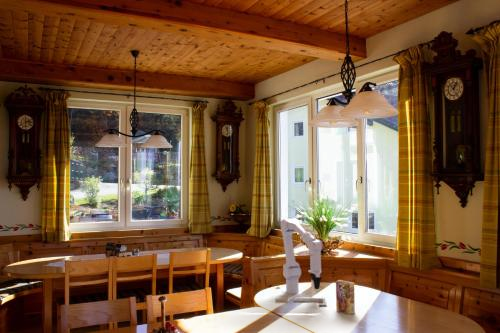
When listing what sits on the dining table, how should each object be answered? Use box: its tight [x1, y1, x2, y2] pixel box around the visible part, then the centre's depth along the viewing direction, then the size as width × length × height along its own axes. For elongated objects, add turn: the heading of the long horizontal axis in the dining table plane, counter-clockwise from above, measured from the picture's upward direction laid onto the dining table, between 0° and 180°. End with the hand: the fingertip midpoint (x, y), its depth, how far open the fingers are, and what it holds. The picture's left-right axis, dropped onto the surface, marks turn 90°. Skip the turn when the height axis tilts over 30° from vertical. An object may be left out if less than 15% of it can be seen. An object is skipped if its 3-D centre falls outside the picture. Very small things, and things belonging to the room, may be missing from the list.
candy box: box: [335, 279, 356, 315], centre depth 218 cm, size 9×4×15 cm, turn 39°
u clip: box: [310, 279, 321, 292], centre depth 233 cm, size 5×4×4 cm
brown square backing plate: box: [274, 298, 289, 304], centre depth 235 cm, size 8×7×1 cm
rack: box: [294, 296, 327, 308], centre depth 233 cm, size 12×18×3 cm, turn 84°
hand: (316, 287), depth 233 cm, fingers closed on u clip, 5 cm apart
